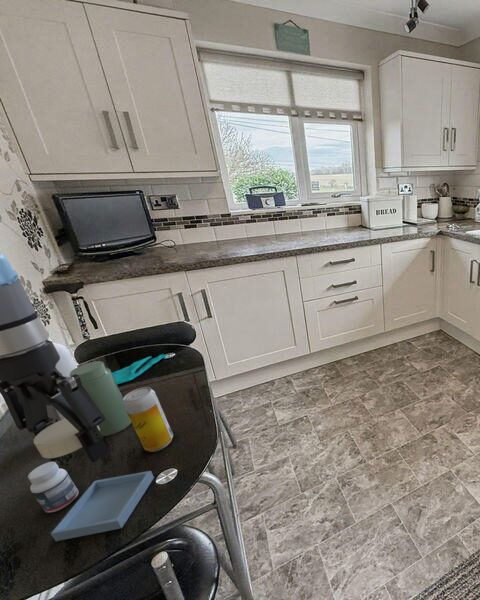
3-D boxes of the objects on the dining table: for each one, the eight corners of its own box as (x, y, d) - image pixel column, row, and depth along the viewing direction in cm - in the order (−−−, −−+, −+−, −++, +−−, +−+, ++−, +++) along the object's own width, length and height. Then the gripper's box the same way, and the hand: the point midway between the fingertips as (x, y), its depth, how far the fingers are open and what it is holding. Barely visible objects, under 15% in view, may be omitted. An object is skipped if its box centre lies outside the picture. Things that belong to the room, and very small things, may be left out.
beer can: (144, 443, 81) (120, 394, 76) (172, 430, 85) (152, 382, 80) (145, 457, 77) (121, 406, 72) (175, 443, 80) (154, 393, 75)
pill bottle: (42, 505, 67) (20, 473, 64) (75, 485, 71) (56, 455, 68) (48, 518, 64) (25, 485, 61) (82, 497, 68) (63, 465, 65)
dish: (55, 541, 60) (50, 533, 59) (98, 487, 70) (94, 480, 69) (121, 528, 61) (117, 520, 60) (154, 477, 71) (150, 470, 71)
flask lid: (37, 446, 59) (29, 433, 58) (93, 420, 65) (87, 407, 63) (45, 465, 54) (37, 451, 53) (105, 435, 60) (98, 422, 59)
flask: (90, 438, 85) (57, 378, 78) (110, 418, 92) (81, 362, 85) (122, 433, 86) (92, 373, 79) (139, 414, 93) (113, 357, 86)
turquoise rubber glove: (74, 401, 101) (71, 395, 100) (76, 383, 111) (73, 378, 110) (172, 366, 117) (169, 360, 116) (166, 353, 127) (164, 348, 126)
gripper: (-67, 362, 50) (9, 471, 58) (47, 360, 48) (110, 474, 56) (-6, 339, 57) (54, 439, 65) (96, 336, 55) (146, 441, 63)
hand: (80, 455), depth 61 cm, fingers closed on flask lid, 8 cm apart
